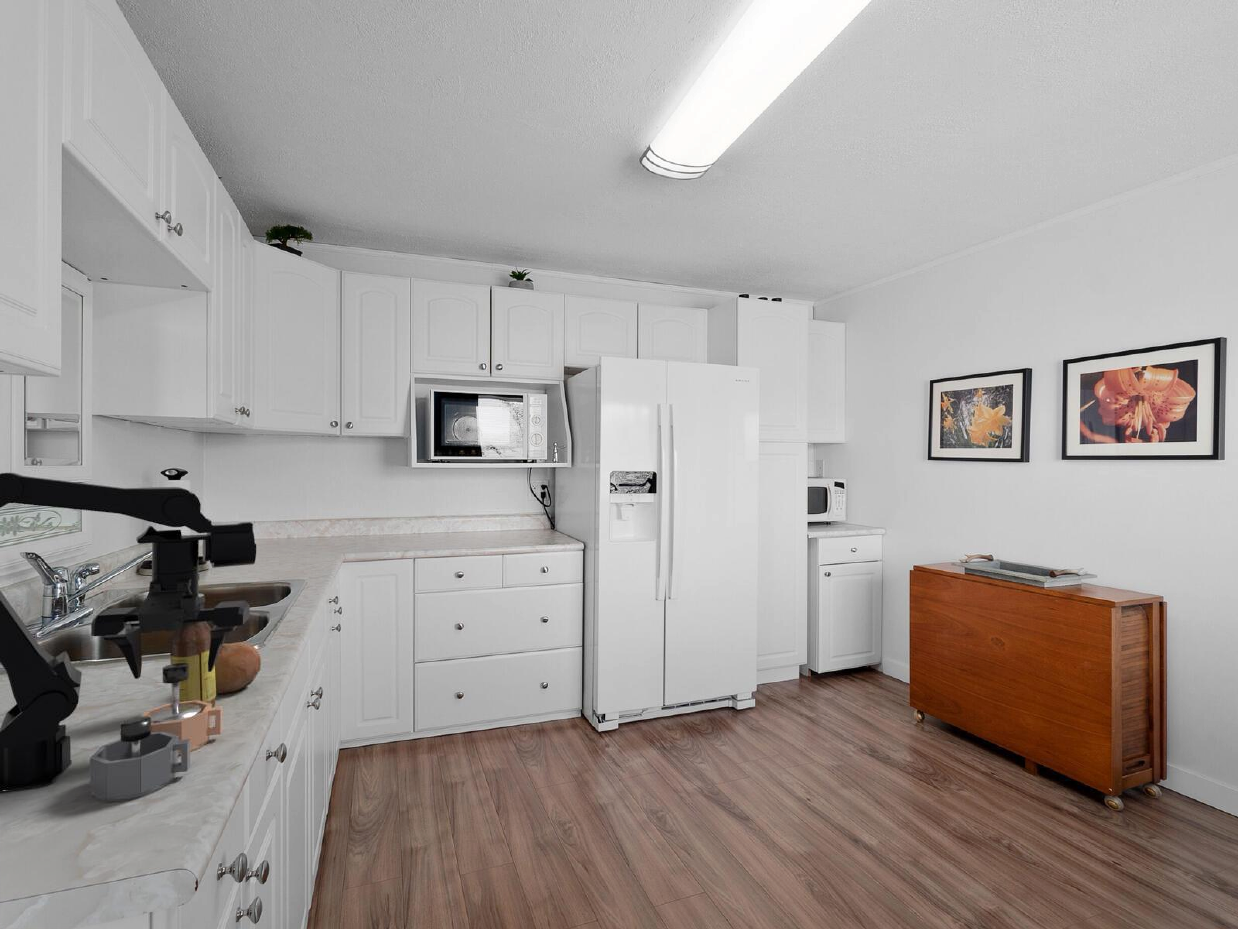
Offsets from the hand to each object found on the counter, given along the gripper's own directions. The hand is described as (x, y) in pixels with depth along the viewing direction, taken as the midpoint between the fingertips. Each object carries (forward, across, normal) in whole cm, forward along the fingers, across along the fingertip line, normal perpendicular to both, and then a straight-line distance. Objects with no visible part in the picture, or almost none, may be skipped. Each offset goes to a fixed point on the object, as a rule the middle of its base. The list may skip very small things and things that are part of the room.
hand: (174, 674), depth 94 cm
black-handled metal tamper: (+6, 0, 0) cm, 6 cm away
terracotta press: (+11, 0, 0) cm, 11 cm away
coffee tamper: (+10, -1, -11) cm, 15 cm away
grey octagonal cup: (+11, -1, -11) cm, 16 cm away
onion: (+11, +3, +23) cm, 26 cm away
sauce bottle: (+11, -1, +14) cm, 18 cm away
